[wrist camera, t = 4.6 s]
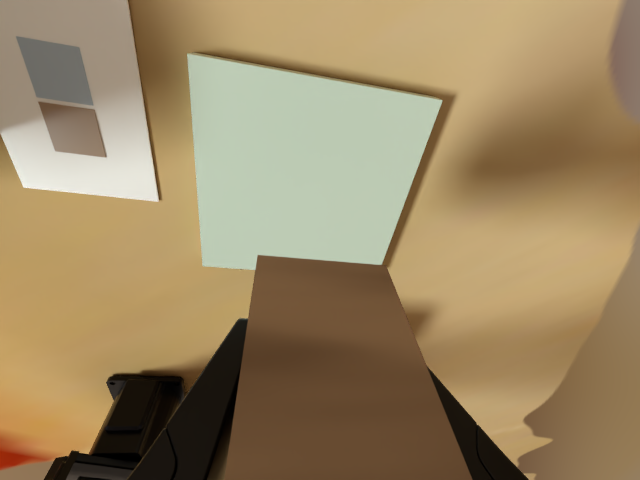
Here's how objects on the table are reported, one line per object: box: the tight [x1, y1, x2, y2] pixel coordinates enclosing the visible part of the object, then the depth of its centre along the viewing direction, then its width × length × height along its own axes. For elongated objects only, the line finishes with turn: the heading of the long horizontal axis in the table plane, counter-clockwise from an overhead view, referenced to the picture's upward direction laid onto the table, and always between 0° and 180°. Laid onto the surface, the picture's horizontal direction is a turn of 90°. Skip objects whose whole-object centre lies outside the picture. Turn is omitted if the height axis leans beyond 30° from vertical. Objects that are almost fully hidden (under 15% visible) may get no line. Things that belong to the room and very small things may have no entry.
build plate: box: [187, 52, 443, 270], centre depth 17 cm, size 12×12×1 cm
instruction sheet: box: [0, 0, 159, 202], centre depth 14 cm, size 10×7×1 cm
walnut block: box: [224, 255, 472, 480], centre depth 8 cm, size 4×4×6 cm
